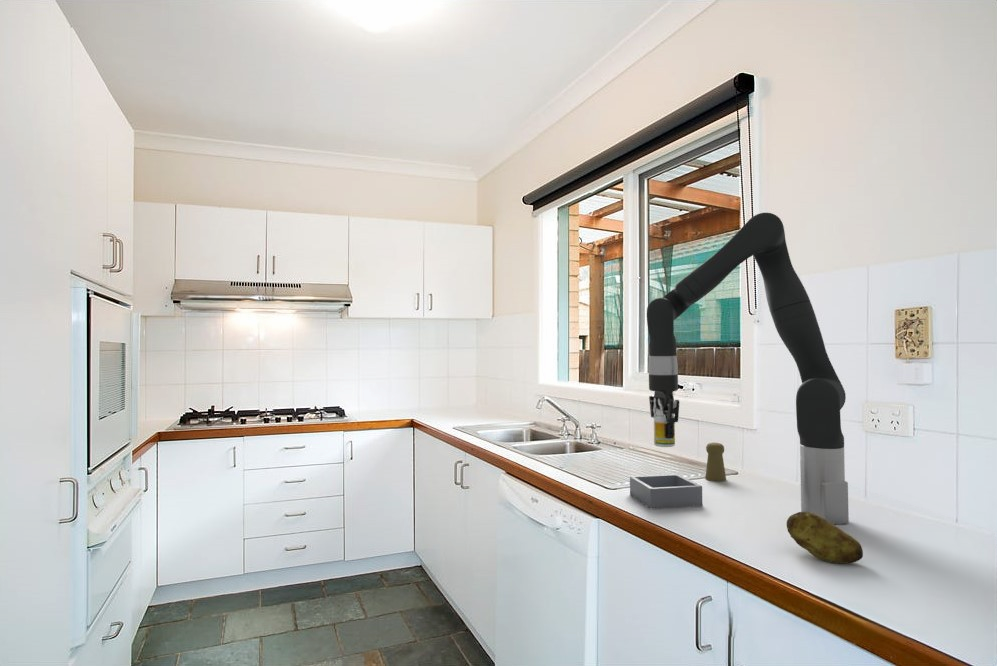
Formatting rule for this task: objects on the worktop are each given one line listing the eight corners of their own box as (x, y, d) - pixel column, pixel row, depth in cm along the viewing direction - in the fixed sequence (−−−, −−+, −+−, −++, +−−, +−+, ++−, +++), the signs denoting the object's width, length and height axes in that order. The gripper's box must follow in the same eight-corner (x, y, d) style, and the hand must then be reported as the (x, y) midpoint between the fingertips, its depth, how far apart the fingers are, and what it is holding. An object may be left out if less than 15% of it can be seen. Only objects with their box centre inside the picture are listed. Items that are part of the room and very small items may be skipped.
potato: (838, 572, 109) (837, 528, 109) (779, 550, 120) (779, 510, 121) (869, 565, 112) (868, 522, 112) (809, 544, 124) (808, 505, 124)
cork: (722, 482, 177) (722, 445, 177) (702, 479, 181) (701, 443, 181) (728, 478, 182) (728, 442, 182) (708, 476, 186) (708, 440, 186)
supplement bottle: (651, 444, 162) (651, 408, 162) (671, 443, 162) (670, 408, 162) (657, 447, 156) (656, 410, 156) (677, 447, 156) (677, 410, 156)
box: (702, 505, 153) (702, 486, 153) (650, 508, 151) (650, 488, 151) (677, 492, 167) (677, 474, 167) (630, 494, 165) (629, 476, 165)
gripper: (688, 374, 153) (690, 440, 152) (664, 371, 167) (666, 431, 167) (661, 374, 152) (662, 441, 151) (639, 371, 166) (640, 432, 165)
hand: (664, 436), depth 159 cm, fingers closed on supplement bottle, 5 cm apart
